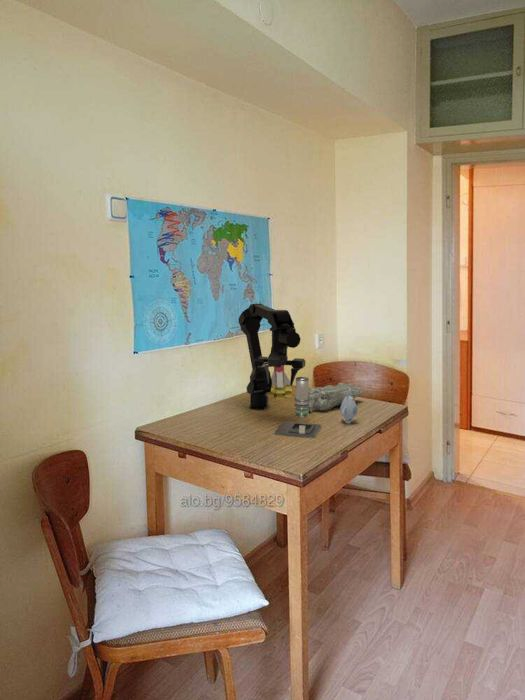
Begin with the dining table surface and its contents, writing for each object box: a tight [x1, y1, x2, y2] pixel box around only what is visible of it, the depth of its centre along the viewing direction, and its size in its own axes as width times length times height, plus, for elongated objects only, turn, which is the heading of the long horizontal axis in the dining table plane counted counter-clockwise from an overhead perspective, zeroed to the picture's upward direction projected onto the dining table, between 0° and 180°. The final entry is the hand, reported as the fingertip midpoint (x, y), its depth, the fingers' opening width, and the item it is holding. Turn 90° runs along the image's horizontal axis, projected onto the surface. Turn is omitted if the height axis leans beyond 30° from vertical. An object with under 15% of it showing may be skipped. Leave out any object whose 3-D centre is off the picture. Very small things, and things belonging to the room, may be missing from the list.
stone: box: [308, 382, 364, 413], centre depth 217 cm, size 12×10×30 cm
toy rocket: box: [267, 365, 294, 400], centre depth 233 cm, size 12×12×30 cm
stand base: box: [274, 421, 322, 439], centre depth 187 cm, size 14×12×4 cm
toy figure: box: [339, 390, 358, 425], centre depth 196 cm, size 11×6×12 cm, turn 144°
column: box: [294, 376, 310, 418], centre depth 184 cm, size 5×5×13 cm
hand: (279, 384), depth 200 cm, fingers open, 9 cm apart
